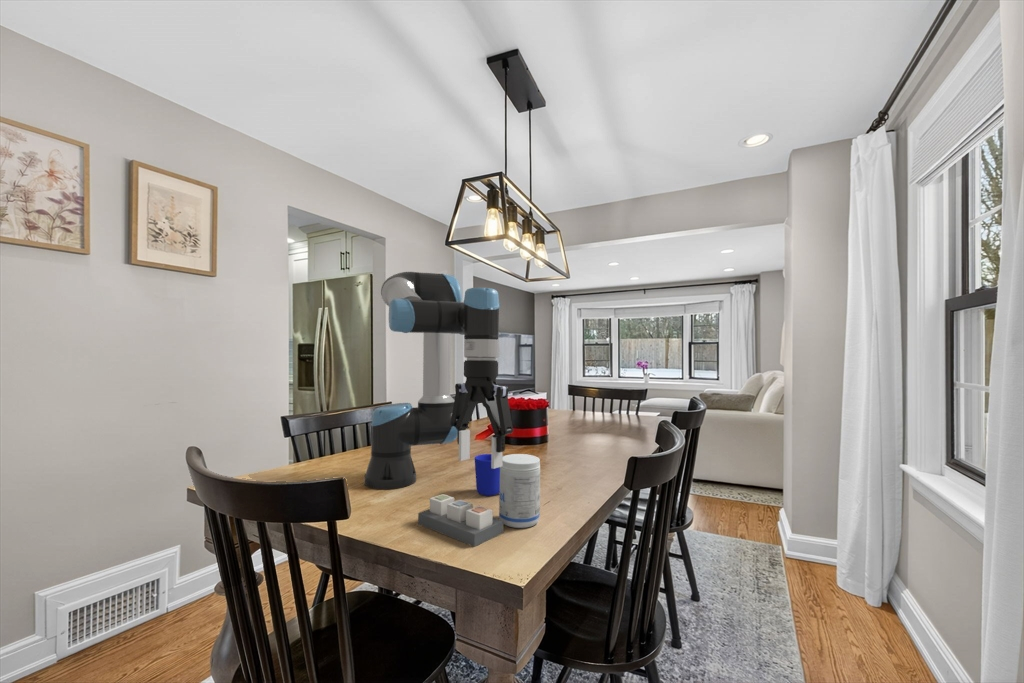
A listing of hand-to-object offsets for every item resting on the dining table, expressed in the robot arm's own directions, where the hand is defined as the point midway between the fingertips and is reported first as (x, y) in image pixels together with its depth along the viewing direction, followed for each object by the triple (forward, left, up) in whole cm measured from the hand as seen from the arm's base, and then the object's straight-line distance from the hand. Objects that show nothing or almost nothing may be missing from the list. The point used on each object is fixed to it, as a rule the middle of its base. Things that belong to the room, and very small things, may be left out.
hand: (480, 463), depth 93 cm
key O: (0, 0, -13) cm, 13 cm away
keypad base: (-6, 0, -15) cm, 17 cm away
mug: (-16, +24, -16) cm, 32 cm away
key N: (-12, 0, -13) cm, 18 cm away
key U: (-6, 0, -13) cm, 15 cm away
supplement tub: (+2, +12, -16) cm, 20 cm away
